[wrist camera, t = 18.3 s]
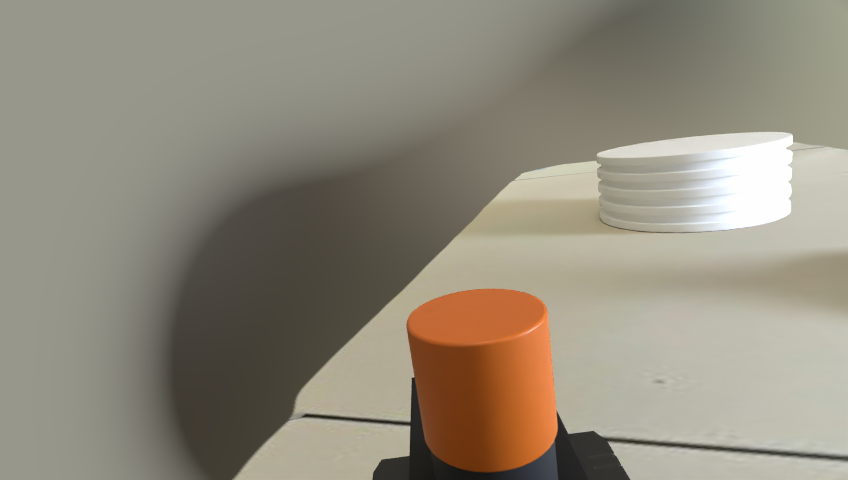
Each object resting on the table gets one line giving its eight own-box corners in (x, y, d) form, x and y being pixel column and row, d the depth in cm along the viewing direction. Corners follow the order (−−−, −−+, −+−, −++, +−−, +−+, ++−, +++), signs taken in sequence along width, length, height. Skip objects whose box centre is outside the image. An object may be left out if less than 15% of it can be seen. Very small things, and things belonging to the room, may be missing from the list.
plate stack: (589, 206, 98) (585, 150, 95) (741, 190, 92) (741, 130, 89) (617, 240, 71) (613, 163, 68) (834, 220, 65) (837, 135, 63)
